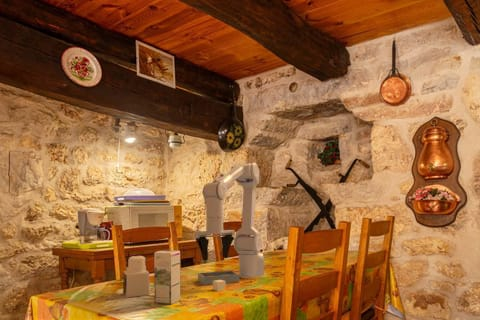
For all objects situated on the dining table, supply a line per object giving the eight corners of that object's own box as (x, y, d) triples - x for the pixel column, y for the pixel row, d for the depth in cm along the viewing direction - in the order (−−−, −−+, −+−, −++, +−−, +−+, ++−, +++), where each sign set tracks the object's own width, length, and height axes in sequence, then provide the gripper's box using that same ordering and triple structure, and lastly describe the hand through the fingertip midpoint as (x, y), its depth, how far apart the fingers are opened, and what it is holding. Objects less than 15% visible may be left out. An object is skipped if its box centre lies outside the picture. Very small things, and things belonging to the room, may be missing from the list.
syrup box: (181, 300, 113) (180, 249, 114) (171, 305, 107) (171, 252, 109) (163, 299, 114) (164, 249, 116) (153, 303, 109) (153, 251, 111)
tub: (231, 279, 143) (231, 270, 144) (239, 283, 135) (239, 274, 135) (197, 282, 139) (197, 273, 140) (203, 286, 131) (203, 277, 131)
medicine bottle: (122, 293, 123) (123, 255, 125) (145, 291, 126) (145, 253, 127) (125, 298, 117) (126, 257, 118) (149, 295, 120) (149, 256, 121)
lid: (234, 286, 134) (234, 275, 134) (252, 290, 126) (251, 279, 126) (201, 292, 125) (201, 280, 126) (218, 297, 118) (218, 284, 118)
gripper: (227, 216, 137) (227, 255, 135) (190, 218, 129) (190, 259, 127) (237, 217, 131) (238, 257, 129) (199, 218, 123) (199, 261, 121)
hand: (215, 258), depth 128 cm, fingers open, 7 cm apart
